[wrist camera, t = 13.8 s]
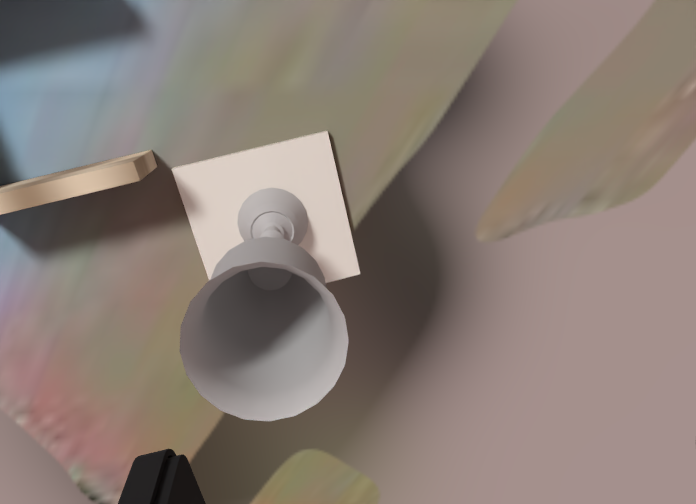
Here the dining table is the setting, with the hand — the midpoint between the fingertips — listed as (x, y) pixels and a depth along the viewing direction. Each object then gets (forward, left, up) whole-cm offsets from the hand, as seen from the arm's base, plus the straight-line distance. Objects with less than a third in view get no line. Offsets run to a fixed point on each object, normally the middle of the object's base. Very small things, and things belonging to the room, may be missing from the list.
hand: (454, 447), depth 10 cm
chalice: (+4, +3, -30) cm, 31 cm away
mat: (+5, +3, -31) cm, 31 cm away
